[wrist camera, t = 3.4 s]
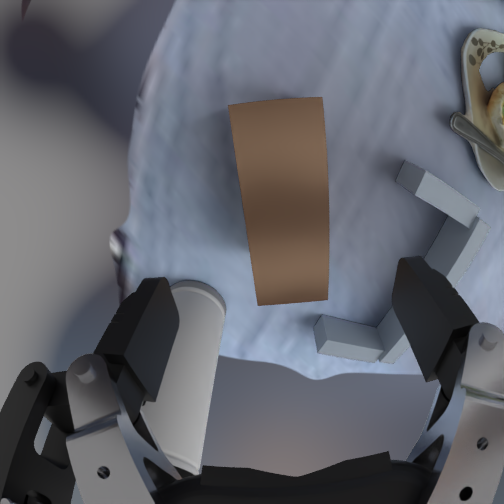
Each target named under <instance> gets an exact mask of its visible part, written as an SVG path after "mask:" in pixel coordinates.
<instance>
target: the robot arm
mask: <svg viewBox="0 0 504 504" xmlns="http://www.w3.org/2000/svg"><path fill="white" fill-rule="evenodd" d="M392 305H393V310H394V312H395V314H396V316H397V318H398V320H399V322H400V324H401V326H402V329H403V331H404V333H405V335H406V337H407V339H408V341H409V344H410V346H411V348H412V350H413V353H414V355H415V357H416V359H417V362H418V364H419V366H420V369H421V371H422V374H423V376H424V378H425V381H426V382H429V381H433V380H436V379H438V380H439V382H440V385H439V387H438V389H437V391H436V395H435V398H434V401H433V404H432V407H431V410H430V412H429V415H428V418H427V421H426V423H425V426H424V428H423V431H422V433H421V436H420V438H419V439H418V441H417V443H416V444H415V446H414V447H413V449H412V450H411V452H410V454H409V456H408V458H407V459H406V461H399V460H390V455H389V452H388V451H387V452H383V453H380V454H375V455H370V456H366V457H361V458H356V459H351V460H345V461H342V462H340V463H337V464H335V465H332V466H330V467H327V468H324V469H322V470H319V471H315V472H312V473H310V474H306V475H303V476H299V477H293V476H286V475H280V474H274V473H269V472H264V471H260V470H255V469H251V468H235V467H232V468H231V467H215V466H204V465H203V467H202V474H198V475H194V476H189V477H186V478H183V479H182V478H181V476H180V474H179V473H178V472H177V470H176V469H175V467H174V466H173V465H172V464H171V462H170V461H169V460H168V459H167V457H166V456H165V454H164V453H163V451H162V449H161V447H160V445H159V443H158V441H157V440H156V438H155V436H154V434H153V432H152V430H151V428H150V426H149V423H148V421H147V419H146V417H145V415H144V413H143V411H142V410H141V405H142V402H143V401H148V402H156V399H157V396H158V392H159V389H160V386H161V382H162V379H163V376H164V373H165V369H166V366H167V363H168V360H169V357H170V353H171V350H172V347H173V344H174V341H175V338H176V335H177V332H178V329H179V323H180V318H179V312H178V309H177V306H176V303H175V300H174V297H173V295H172V292H171V289H170V286H169V283H168V281H167V279H166V278H165V277H158V278H145V279H143V280H142V282H141V284H140V285H139V287H138V289H137V290H136V292H135V293H132V294H131V295H129V296H128V297H127V298H126V299H125V300H124V301H123V302H122V303H121V305H120V307H119V308H118V310H117V312H116V314H115V315H114V317H113V319H112V320H111V323H110V324H109V325H108V327H107V329H106V331H105V333H104V335H103V336H102V338H101V340H100V342H99V343H98V345H97V347H96V349H95V351H94V353H93V354H85V355H83V356H80V357H78V358H77V359H76V360H75V361H73V362H72V363H71V365H70V366H69V368H68V370H67V371H62V372H56V373H51V372H50V371H49V370H48V368H47V367H46V366H45V365H44V364H43V363H42V362H33V363H30V364H29V365H27V366H26V367H25V368H24V369H23V370H22V371H21V372H20V374H19V376H18V377H17V379H16V382H15V383H14V385H13V387H12V389H11V391H10V393H9V395H8V397H7V399H6V401H5V403H4V405H3V407H2V409H1V412H0V504H71V499H72V494H73V489H74V485H75V481H76V482H77V485H78V487H79V490H80V494H81V496H82V499H83V502H84V504H492V501H493V499H494V496H495V493H496V490H497V487H498V484H499V481H500V477H501V474H502V470H503V466H504V334H503V332H502V331H501V330H500V329H499V328H498V327H496V326H494V325H493V324H490V323H485V322H482V323H479V321H478V320H477V318H476V317H475V315H474V314H473V312H472V311H471V310H470V308H469V307H468V305H467V304H466V303H465V301H464V300H463V299H462V297H461V296H460V295H458V292H457V291H456V289H455V288H453V287H452V284H451V283H450V282H449V281H448V279H447V278H446V277H445V276H444V275H443V274H441V273H440V272H438V271H437V270H435V269H432V268H431V267H430V266H429V265H428V264H427V262H426V261H425V260H424V259H423V258H422V257H421V256H415V257H406V258H401V259H400V260H399V262H398V267H397V273H396V278H395V283H394V288H393V293H392ZM43 416H44V417H46V418H47V419H48V420H49V421H50V422H51V423H52V425H51V428H50V430H49V433H48V436H47V439H46V441H45V444H44V448H43V450H42V453H41V455H39V454H38V453H37V452H36V451H35V448H34V440H35V436H36V434H37V431H38V429H39V426H40V424H41V421H42V418H43Z"/></svg>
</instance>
